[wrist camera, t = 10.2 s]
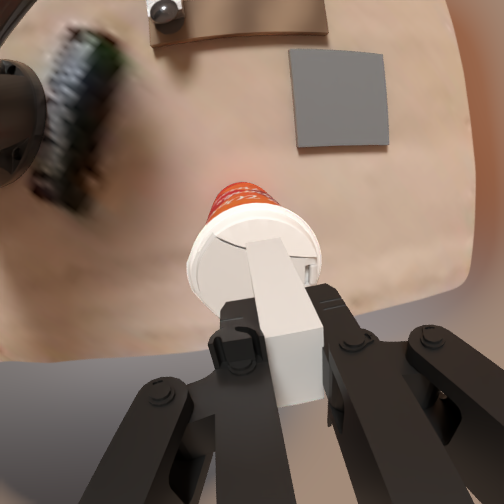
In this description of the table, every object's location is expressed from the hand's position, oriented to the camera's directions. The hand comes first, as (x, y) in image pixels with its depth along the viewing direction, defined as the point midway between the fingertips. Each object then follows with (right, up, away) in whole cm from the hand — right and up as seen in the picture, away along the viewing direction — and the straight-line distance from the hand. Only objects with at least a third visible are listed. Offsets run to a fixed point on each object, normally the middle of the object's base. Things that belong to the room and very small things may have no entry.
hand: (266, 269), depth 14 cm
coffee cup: (-2, +5, +18) cm, 19 cm away
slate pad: (+8, +16, +14) cm, 23 cm away
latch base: (-2, +23, +10) cm, 26 cm away
